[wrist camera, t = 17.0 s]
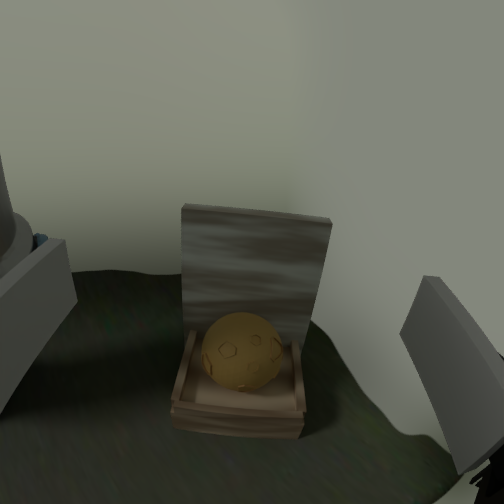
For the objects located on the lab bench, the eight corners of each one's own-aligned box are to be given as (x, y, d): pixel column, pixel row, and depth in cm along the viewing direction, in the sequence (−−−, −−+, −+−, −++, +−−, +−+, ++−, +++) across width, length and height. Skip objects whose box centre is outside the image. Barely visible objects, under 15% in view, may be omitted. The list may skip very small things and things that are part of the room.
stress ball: (213, 355, 42) (170, 350, 34) (256, 304, 43) (220, 287, 34) (260, 404, 37) (223, 413, 29) (308, 350, 37) (284, 345, 29)
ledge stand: (305, 439, 33) (367, 287, 23) (166, 426, 33) (139, 265, 23) (296, 356, 48) (329, 218, 37) (187, 346, 48) (185, 203, 37)
